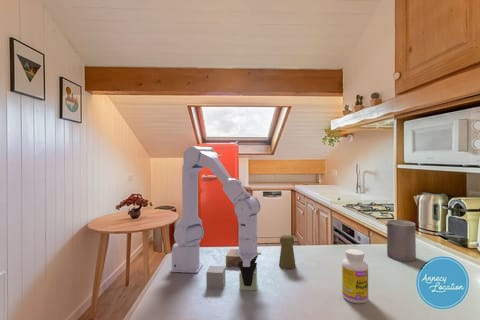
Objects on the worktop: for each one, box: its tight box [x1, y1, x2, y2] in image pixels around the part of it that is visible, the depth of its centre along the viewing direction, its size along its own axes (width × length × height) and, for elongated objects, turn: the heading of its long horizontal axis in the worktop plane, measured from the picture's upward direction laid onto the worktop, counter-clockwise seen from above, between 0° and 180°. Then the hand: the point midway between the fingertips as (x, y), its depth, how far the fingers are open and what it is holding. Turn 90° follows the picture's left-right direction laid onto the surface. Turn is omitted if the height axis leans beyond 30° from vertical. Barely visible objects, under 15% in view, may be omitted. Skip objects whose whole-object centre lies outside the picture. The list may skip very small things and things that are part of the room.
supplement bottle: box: [341, 248, 369, 304], centre depth 75 cm, size 7×7×13 cm
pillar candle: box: [386, 218, 417, 263], centre depth 106 cm, size 10×10×15 cm
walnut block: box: [225, 248, 242, 268], centre depth 103 cm, size 8×8×4 cm
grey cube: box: [205, 265, 226, 290], centre depth 84 cm, size 5×5×5 cm
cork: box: [278, 234, 297, 270], centre depth 99 cm, size 6×6×11 cm
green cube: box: [238, 266, 258, 291], centre depth 83 cm, size 5×5×5 cm
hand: (248, 281), depth 83 cm, fingers closed on green cube, 5 cm apart
